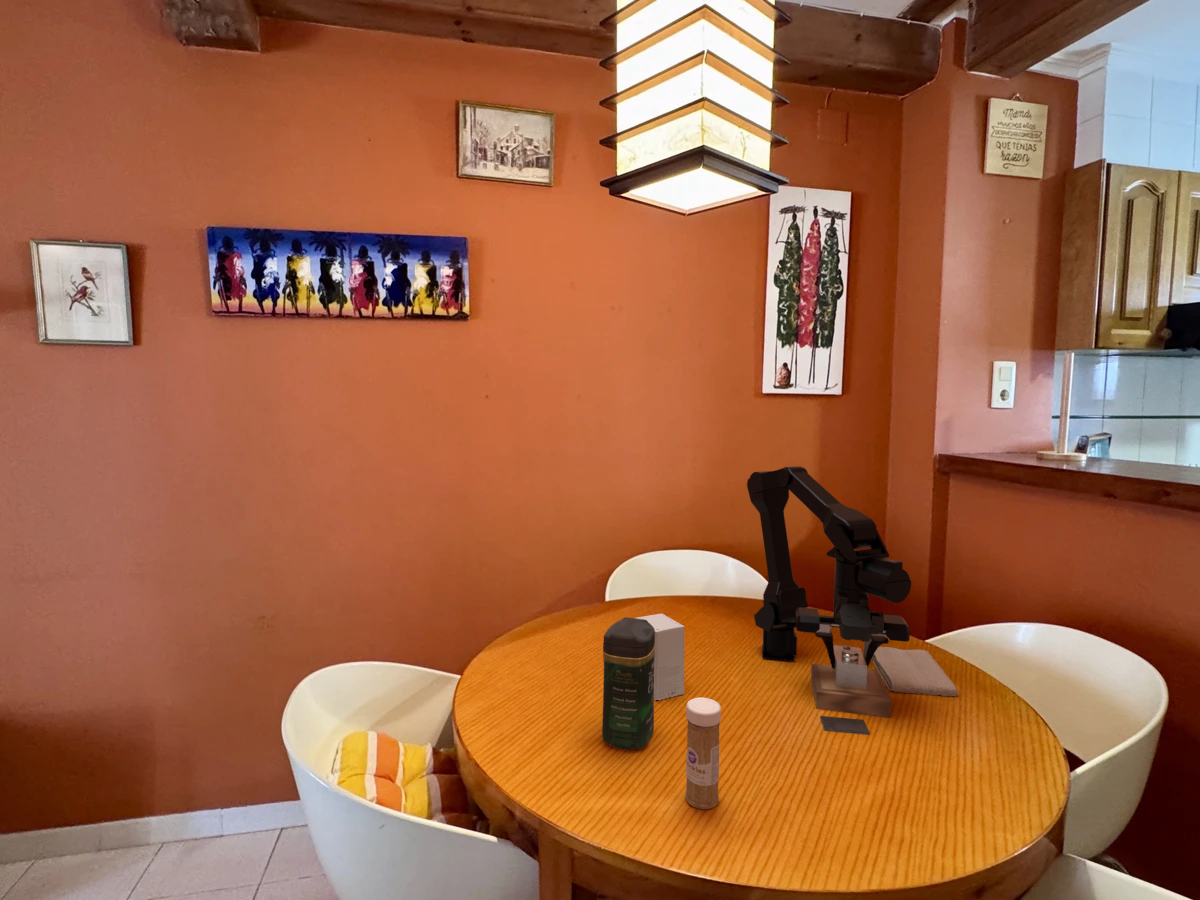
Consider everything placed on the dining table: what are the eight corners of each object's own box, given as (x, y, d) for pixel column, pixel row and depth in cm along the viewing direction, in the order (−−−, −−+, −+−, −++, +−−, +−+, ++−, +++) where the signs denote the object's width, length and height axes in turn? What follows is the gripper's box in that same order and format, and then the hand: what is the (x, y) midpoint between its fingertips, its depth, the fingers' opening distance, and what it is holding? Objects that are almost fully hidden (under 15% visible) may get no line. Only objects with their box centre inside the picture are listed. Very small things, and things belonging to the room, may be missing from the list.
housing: (831, 668, 115) (831, 639, 115) (859, 670, 114) (860, 642, 113) (835, 687, 107) (836, 656, 107) (866, 690, 106) (867, 660, 106)
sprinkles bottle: (678, 801, 82) (679, 705, 81) (696, 784, 85) (697, 692, 84) (708, 816, 79) (710, 716, 78) (725, 798, 82) (727, 703, 81)
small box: (684, 694, 111) (685, 626, 110) (655, 702, 109) (655, 631, 108) (661, 677, 119) (662, 612, 118) (633, 683, 116) (633, 617, 115)
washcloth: (925, 660, 128) (926, 645, 127) (960, 701, 110) (961, 684, 110) (866, 655, 130) (866, 641, 129) (890, 695, 112) (891, 679, 112)
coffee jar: (646, 756, 92) (647, 637, 91) (596, 747, 94) (596, 632, 93) (659, 724, 101) (659, 616, 100) (613, 717, 104) (613, 611, 102)
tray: (816, 708, 106) (816, 690, 106) (810, 678, 118) (811, 662, 118) (890, 717, 103) (891, 699, 103) (877, 685, 115) (878, 669, 115)
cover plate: (824, 733, 99) (824, 727, 99) (819, 721, 103) (820, 715, 103) (869, 737, 98) (869, 732, 98) (863, 725, 102) (863, 719, 102)
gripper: (799, 595, 104) (797, 682, 105) (919, 604, 99) (915, 696, 100) (796, 577, 114) (793, 656, 116) (904, 584, 110) (900, 668, 111)
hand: (848, 669), depth 110 cm, fingers closed on housing, 5 cm apart
